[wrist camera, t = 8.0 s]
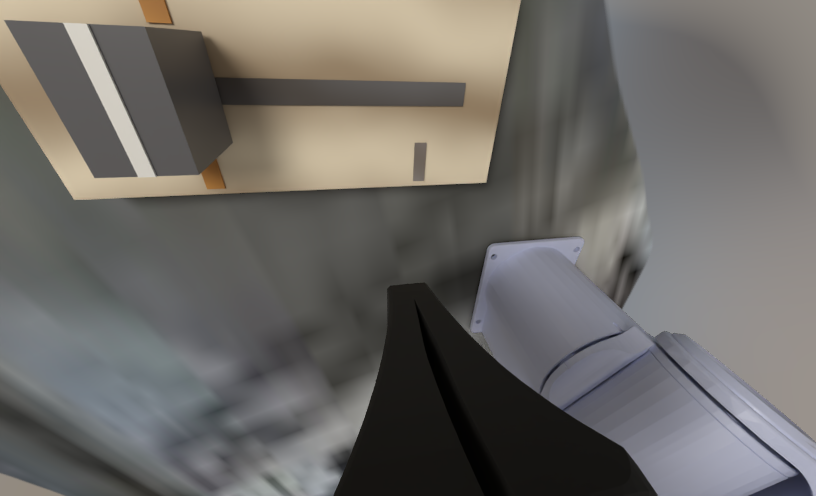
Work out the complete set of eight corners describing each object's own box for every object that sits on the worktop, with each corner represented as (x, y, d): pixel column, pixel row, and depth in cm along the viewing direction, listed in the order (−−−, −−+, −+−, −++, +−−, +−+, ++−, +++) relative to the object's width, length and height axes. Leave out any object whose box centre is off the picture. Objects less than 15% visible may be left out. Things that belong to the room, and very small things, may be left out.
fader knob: (232, 142, 13) (198, 175, 10) (156, 143, 13) (93, 179, 9) (201, 31, 11) (143, 26, 8) (107, 27, 10) (1, 19, 7)
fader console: (473, 170, 19) (486, 183, 17) (102, 183, 15) (72, 200, 14) (504, -21, 14) (527, -30, 12) (-40, -69, 10) (-115, -91, 8)
